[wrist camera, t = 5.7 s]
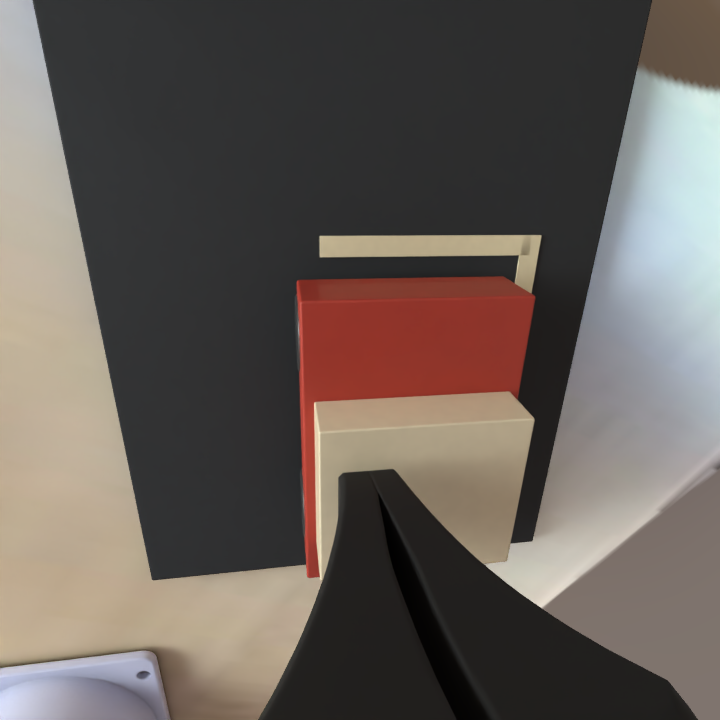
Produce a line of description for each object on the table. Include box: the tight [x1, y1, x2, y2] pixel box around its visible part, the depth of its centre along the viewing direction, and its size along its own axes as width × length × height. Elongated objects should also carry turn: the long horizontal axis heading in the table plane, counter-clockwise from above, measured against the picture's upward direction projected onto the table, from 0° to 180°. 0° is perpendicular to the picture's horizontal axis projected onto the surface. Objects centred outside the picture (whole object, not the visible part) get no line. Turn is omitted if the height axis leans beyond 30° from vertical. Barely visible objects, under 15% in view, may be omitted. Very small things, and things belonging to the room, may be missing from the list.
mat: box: [33, 0, 652, 580], centre depth 15 cm, size 20×15×1 cm
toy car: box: [295, 276, 535, 581], centre depth 15 cm, size 9×4×6 cm
